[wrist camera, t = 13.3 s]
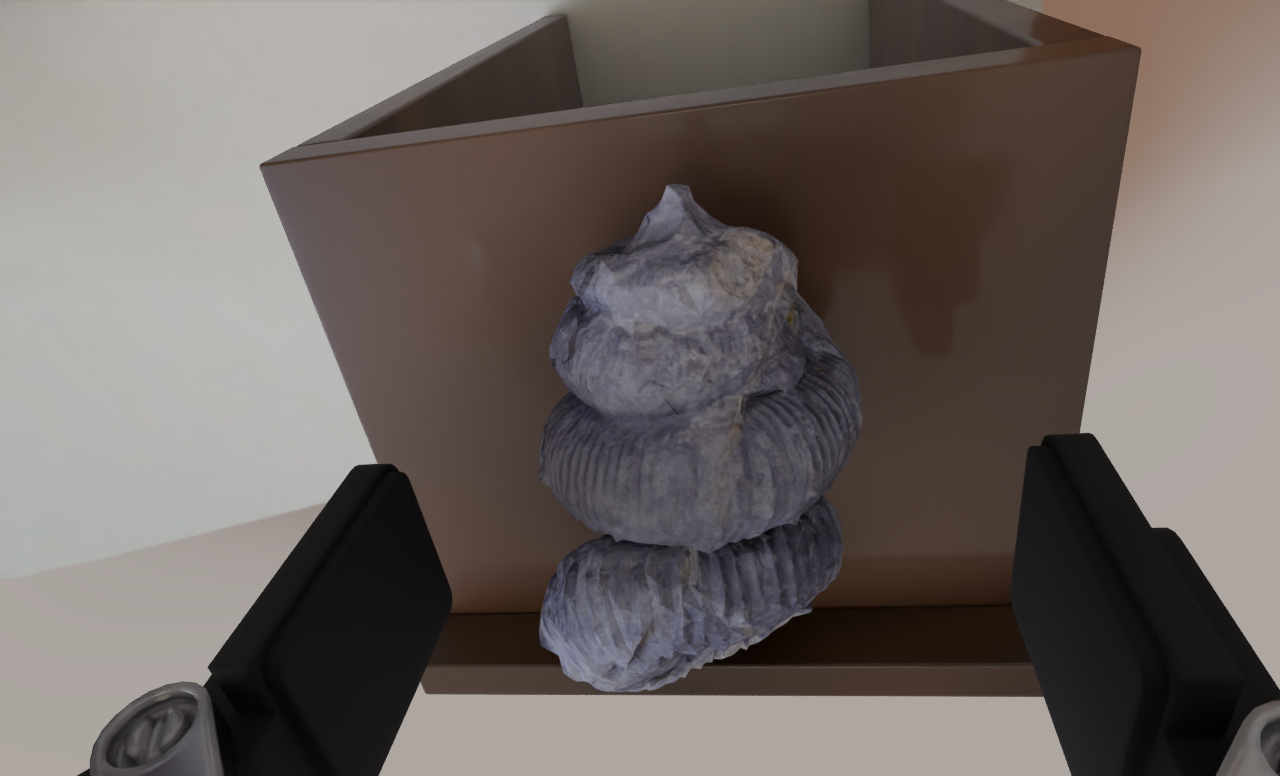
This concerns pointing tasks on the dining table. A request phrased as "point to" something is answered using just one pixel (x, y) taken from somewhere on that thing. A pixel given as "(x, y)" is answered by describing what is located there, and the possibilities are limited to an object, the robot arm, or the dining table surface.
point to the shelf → (827, 280)
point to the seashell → (691, 450)
